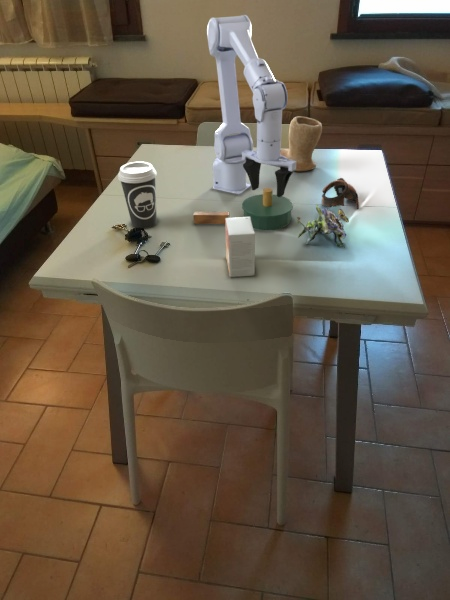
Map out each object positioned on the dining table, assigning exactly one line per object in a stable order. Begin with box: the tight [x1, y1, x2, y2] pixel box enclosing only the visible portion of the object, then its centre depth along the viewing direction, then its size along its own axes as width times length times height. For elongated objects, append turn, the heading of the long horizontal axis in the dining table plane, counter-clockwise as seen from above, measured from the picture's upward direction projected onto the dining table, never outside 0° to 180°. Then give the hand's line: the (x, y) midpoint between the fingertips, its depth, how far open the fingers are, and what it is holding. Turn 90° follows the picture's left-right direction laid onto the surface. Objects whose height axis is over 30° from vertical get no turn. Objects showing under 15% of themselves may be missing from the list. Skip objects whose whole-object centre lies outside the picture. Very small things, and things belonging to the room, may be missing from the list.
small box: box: [224, 216, 256, 278], centre depth 104 cm, size 8×6×10 cm
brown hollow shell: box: [321, 177, 360, 210], centre depth 129 cm, size 12×10×8 cm
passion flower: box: [296, 204, 350, 248], centre depth 112 cm, size 11×11×12 cm
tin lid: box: [241, 187, 294, 218], centre depth 121 cm, size 13×13×5 cm
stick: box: [193, 211, 230, 225], centre depth 124 cm, size 9×2×3 cm, turn 85°
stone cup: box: [280, 115, 323, 172], centre depth 151 cm, size 15×12×15 cm
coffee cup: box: [117, 161, 158, 229], centre depth 122 cm, size 10×10×15 cm
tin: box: [242, 209, 292, 231], centre depth 124 cm, size 12×12×4 cm
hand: (267, 192), depth 122 cm, fingers open, 7 cm apart
